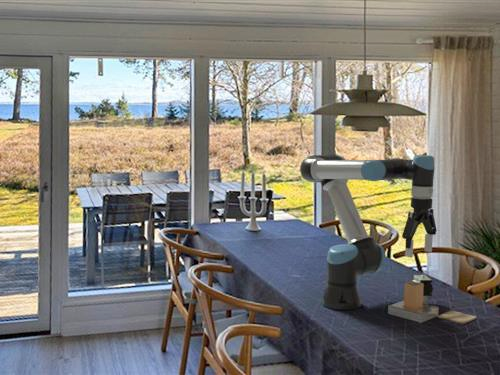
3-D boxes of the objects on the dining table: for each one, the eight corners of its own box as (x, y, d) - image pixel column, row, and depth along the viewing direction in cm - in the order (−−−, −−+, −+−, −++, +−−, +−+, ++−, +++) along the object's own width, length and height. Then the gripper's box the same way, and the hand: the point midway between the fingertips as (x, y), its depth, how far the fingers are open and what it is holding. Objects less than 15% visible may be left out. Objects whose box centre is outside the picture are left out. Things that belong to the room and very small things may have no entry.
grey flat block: (388, 313, 218) (388, 305, 217) (405, 307, 226) (405, 298, 226) (421, 322, 208) (421, 314, 207) (438, 315, 216) (438, 307, 215)
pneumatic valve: (422, 299, 236) (423, 271, 235) (432, 308, 224) (433, 278, 223) (409, 299, 236) (410, 271, 234) (418, 308, 224) (419, 278, 223)
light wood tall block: (403, 314, 217) (404, 282, 216) (410, 311, 220) (411, 280, 219) (415, 317, 213) (416, 285, 212) (422, 314, 217) (423, 283, 215)
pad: (437, 317, 214) (438, 315, 214) (451, 311, 220) (451, 310, 220) (463, 324, 206) (463, 322, 206) (476, 318, 213) (476, 316, 213)
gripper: (412, 201, 200) (409, 261, 202) (448, 195, 217) (444, 250, 219) (394, 199, 205) (391, 257, 208) (429, 193, 222) (426, 247, 225)
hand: (418, 254), depth 214 cm, fingers open, 13 cm apart
